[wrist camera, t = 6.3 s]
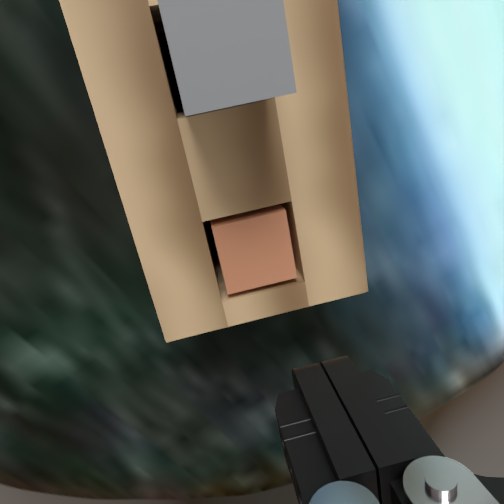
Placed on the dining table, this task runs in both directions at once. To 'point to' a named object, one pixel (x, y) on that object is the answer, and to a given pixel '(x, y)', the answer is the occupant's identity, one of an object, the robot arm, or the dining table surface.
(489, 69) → the dining table surface
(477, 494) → the robot arm
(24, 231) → the dining table surface
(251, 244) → the peg terracotta
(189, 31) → the peg grey
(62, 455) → the dining table surface
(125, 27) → the oak block
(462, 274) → the dining table surface
